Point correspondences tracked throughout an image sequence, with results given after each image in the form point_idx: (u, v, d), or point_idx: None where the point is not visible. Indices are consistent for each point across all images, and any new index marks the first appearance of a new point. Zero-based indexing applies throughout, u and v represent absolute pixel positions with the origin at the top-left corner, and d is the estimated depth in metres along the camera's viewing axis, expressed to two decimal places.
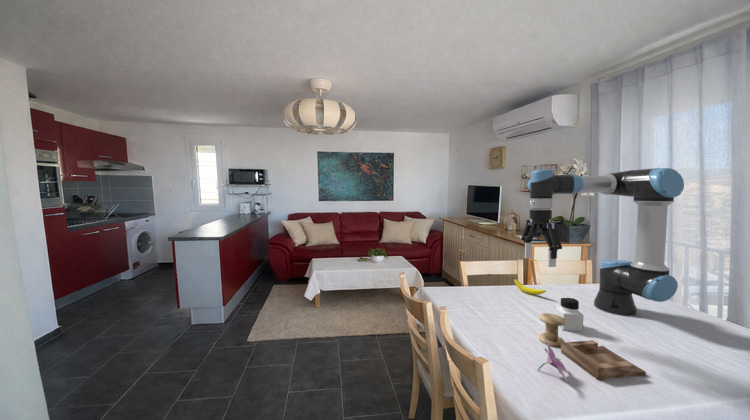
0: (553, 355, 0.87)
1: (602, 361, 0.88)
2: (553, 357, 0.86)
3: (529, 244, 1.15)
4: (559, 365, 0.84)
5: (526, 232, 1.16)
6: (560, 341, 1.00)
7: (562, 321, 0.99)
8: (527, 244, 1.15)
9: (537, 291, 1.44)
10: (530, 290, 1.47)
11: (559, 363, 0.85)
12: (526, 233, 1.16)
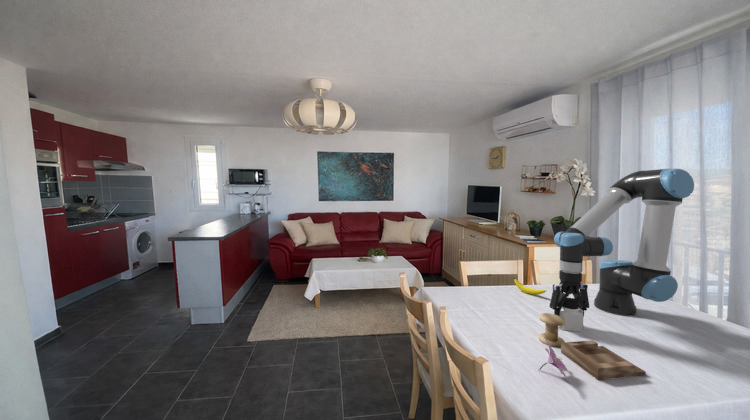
0: (554, 355, 0.87)
1: (602, 361, 0.88)
2: (554, 357, 0.86)
3: (578, 310, 1.13)
4: (560, 365, 0.84)
5: (581, 296, 1.13)
6: (560, 341, 1.00)
7: (562, 321, 0.99)
8: None
9: (537, 291, 1.44)
10: (530, 290, 1.47)
11: (560, 363, 0.85)
12: (582, 298, 1.13)
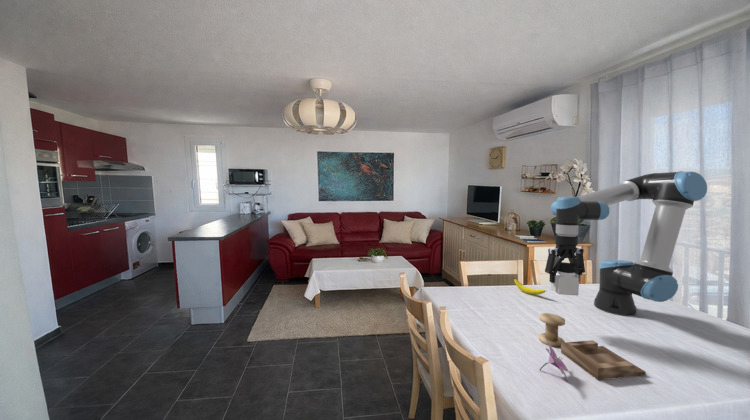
0: (554, 355, 0.87)
1: (602, 361, 0.88)
2: (554, 357, 0.86)
3: (574, 275, 1.11)
4: (560, 365, 0.84)
5: (577, 261, 1.12)
6: (560, 341, 1.00)
7: (562, 321, 0.99)
8: None
9: (537, 291, 1.44)
10: (530, 290, 1.47)
11: (561, 363, 0.85)
12: (577, 263, 1.12)
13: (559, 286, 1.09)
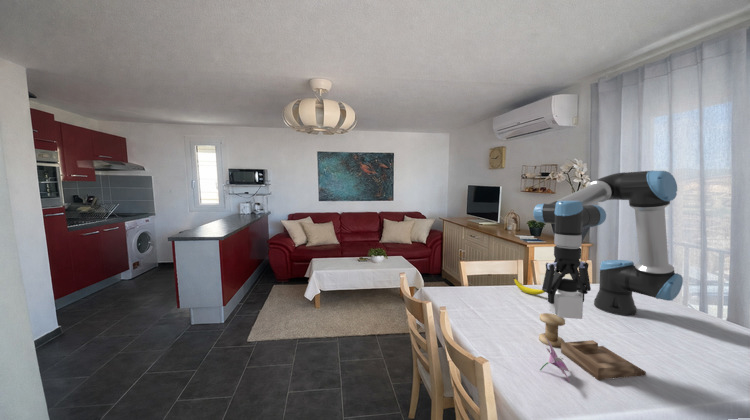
0: (555, 355, 0.87)
1: (602, 361, 0.88)
2: (555, 357, 0.86)
3: None
4: (561, 365, 0.84)
5: (581, 277, 0.94)
6: (560, 341, 1.00)
7: (562, 321, 0.99)
8: None
9: (537, 291, 1.44)
10: (530, 290, 1.47)
11: (561, 363, 0.85)
12: (581, 279, 0.94)
13: (559, 308, 0.91)
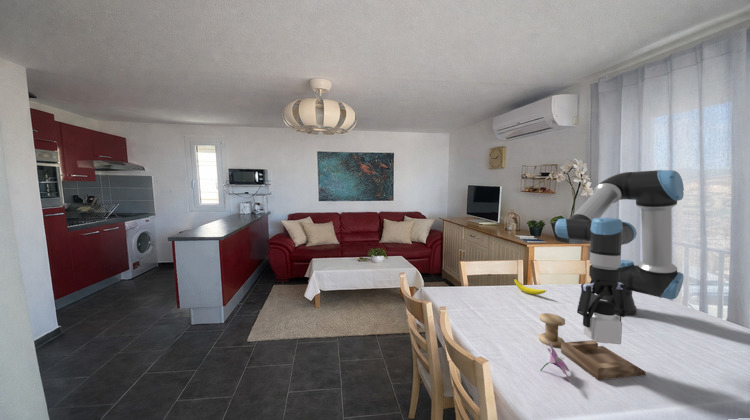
0: (555, 355, 0.87)
1: (602, 361, 0.88)
2: (556, 357, 0.86)
3: None
4: (562, 365, 0.84)
5: (617, 299, 0.89)
6: (560, 341, 1.00)
7: (562, 321, 0.99)
8: None
9: (537, 291, 1.44)
10: (530, 290, 1.47)
11: (562, 363, 0.85)
12: (618, 300, 0.89)
13: (596, 332, 0.86)
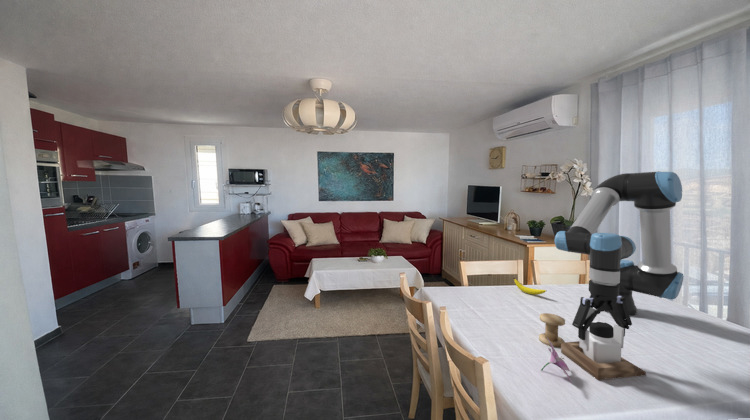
0: (556, 355, 0.87)
1: None
2: (556, 357, 0.86)
3: (618, 328, 0.89)
4: (562, 365, 0.85)
5: (619, 311, 0.89)
6: (560, 341, 1.00)
7: (562, 321, 0.99)
8: (615, 327, 0.90)
9: (537, 291, 1.44)
10: (530, 290, 1.47)
11: (563, 363, 0.85)
12: (620, 313, 0.89)
13: (597, 355, 0.86)
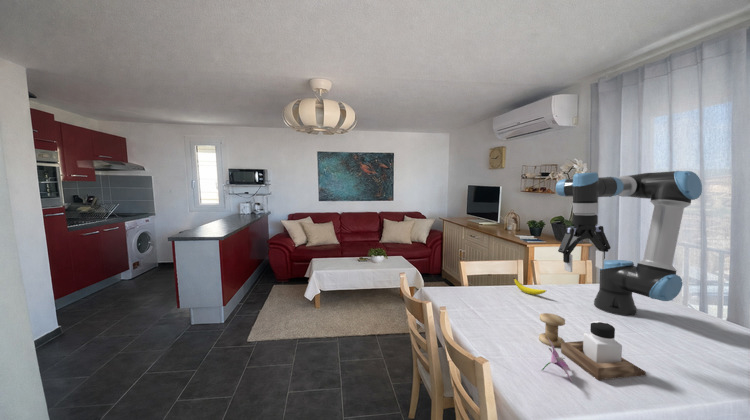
0: (557, 354, 0.87)
1: None
2: (557, 356, 0.86)
3: (599, 252, 1.05)
4: (563, 364, 0.85)
5: (599, 239, 1.05)
6: (560, 341, 1.00)
7: (562, 321, 0.99)
8: (597, 252, 1.05)
9: (537, 291, 1.44)
10: (530, 290, 1.47)
11: (563, 363, 0.85)
12: (600, 240, 1.05)
13: (597, 355, 0.86)
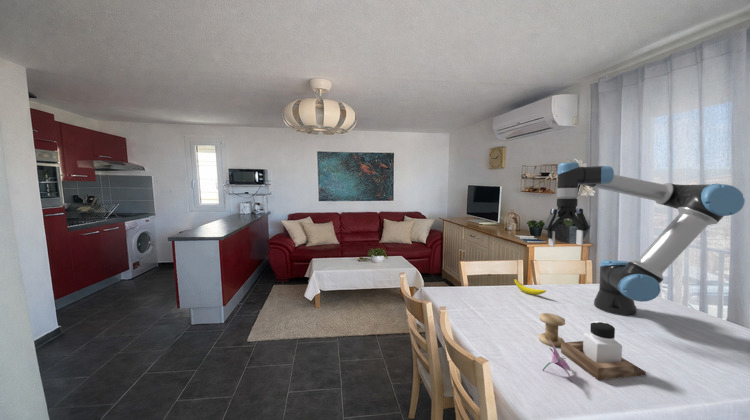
0: (557, 354, 0.87)
1: None
2: (557, 356, 0.86)
3: (579, 231, 1.23)
4: (564, 364, 0.85)
5: (580, 220, 1.23)
6: (560, 341, 1.00)
7: (562, 321, 0.99)
8: (577, 231, 1.23)
9: (537, 291, 1.44)
10: (530, 290, 1.47)
11: (564, 362, 0.85)
12: (580, 221, 1.23)
13: (597, 355, 0.86)
